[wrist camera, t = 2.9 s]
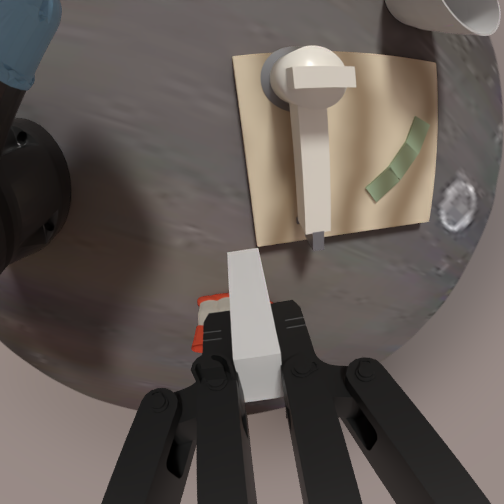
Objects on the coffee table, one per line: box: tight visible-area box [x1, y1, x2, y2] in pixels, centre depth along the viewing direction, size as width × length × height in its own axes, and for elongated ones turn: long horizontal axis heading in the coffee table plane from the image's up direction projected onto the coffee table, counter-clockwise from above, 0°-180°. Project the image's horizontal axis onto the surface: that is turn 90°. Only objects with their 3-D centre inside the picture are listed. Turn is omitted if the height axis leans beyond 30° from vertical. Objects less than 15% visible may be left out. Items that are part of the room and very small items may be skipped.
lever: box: [270, 46, 356, 251], centre depth 22 cm, size 17×5×7 cm, turn 7°
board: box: [232, 46, 438, 247], centre depth 26 cm, size 20×18×2 cm
